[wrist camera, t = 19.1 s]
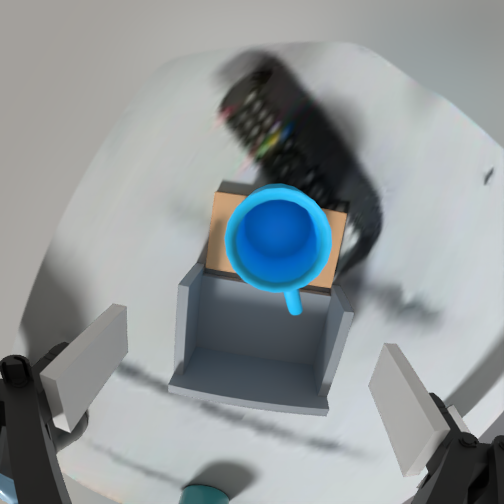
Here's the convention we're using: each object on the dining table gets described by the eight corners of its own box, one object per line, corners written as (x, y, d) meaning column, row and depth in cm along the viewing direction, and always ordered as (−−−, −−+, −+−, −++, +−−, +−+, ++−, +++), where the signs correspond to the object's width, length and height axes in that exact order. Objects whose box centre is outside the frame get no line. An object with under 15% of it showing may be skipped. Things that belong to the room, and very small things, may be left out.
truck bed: (189, 347, 38) (168, 392, 29) (196, 262, 35) (171, 292, 26) (317, 367, 37) (326, 416, 28) (340, 285, 34) (359, 322, 26)
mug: (227, 194, 32) (212, 202, 24) (308, 174, 31) (319, 176, 23) (257, 304, 34) (252, 342, 26) (331, 287, 33) (347, 322, 25)
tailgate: (205, 267, 34) (214, 192, 32) (207, 264, 35) (217, 191, 33) (330, 288, 33) (346, 213, 31) (329, 284, 34) (344, 212, 32)
